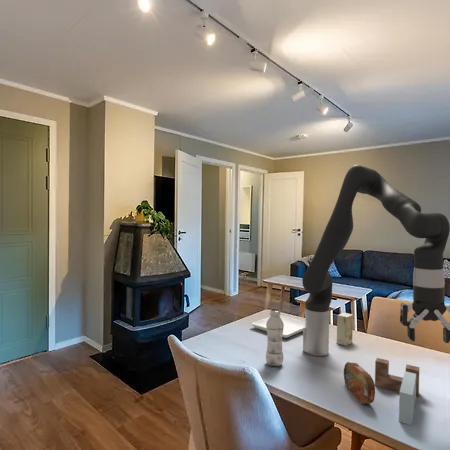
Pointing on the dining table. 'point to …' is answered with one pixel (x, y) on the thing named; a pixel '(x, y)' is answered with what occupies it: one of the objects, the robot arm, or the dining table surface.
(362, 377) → the tin
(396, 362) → the dining table surface
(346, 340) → the skincare box
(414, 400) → the cross plate
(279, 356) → the plastic bottle
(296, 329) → the salad plate
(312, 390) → the dining table surface
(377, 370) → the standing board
